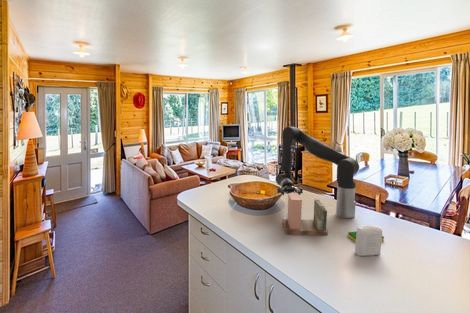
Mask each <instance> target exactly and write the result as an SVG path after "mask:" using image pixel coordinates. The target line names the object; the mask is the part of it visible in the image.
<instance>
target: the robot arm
mask: <svg viewBox="0 0 470 313" xmlns="http://www.w3.org/2000/svg"><path fill="white" fill-rule="evenodd" d="M281 135H282V138H281V139H282V143H281V144H282V147H281V148H282V152H281V153H282V154H281V162H280V170H281V171H282V172H284V173H286V174H281V173H280V174H277V175H276V177H275V182H276V184H277V185H278V186H276V192H277V194H281V195H282V196H285V194H287V195H288V193H298V194H299V196H300V195H301V194H303V190H304V189H303V187H302V186H298V187H296V186H295V185H294V182H293V177H292V166H293V155H292V150H291V149H292V142H296V143H298V144H300V145H301V146H303V147H304V148H305V149H306V151H307V152H308V153H309V154H311V155H312V156H314V157H316V158H318V159H320V160H323V161H326V162H329V163H333V164H334V165H336V166H337V167H336V182H337V190H336V191H337V194H336V210H335V215H336V216H337V217H339V218H341V219H342V218H343V219H351V218H352V219H353V218H355V217H356V202H357V201H356V199H355V198H356V197H355V196H356V184H357V183H356V182H355V180H354V174H356V173H358V172H359V170H360V164H359V162H358V161H357V160H356V159H354V158H353V157H351V156H348V155H345V154H344V153H341V152H339V151H338V150H336V149H334V148H332V147H331V146H329V145H328V144H325V142H323V141H321V140H318V139H316V138H315V137H312V136H310V135H308V134H306V133H305V132H303V130H301V129H300V128H298V127H296V126H285V127H284V129H283V130H282V134H281Z"/></svg>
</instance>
